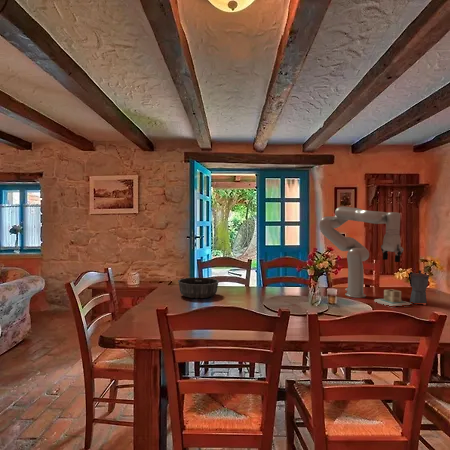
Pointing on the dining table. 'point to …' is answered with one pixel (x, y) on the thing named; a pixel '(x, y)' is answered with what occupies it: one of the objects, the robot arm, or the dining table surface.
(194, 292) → the bundt pan
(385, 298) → the birch collar
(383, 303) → the post board
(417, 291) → the moka pot
